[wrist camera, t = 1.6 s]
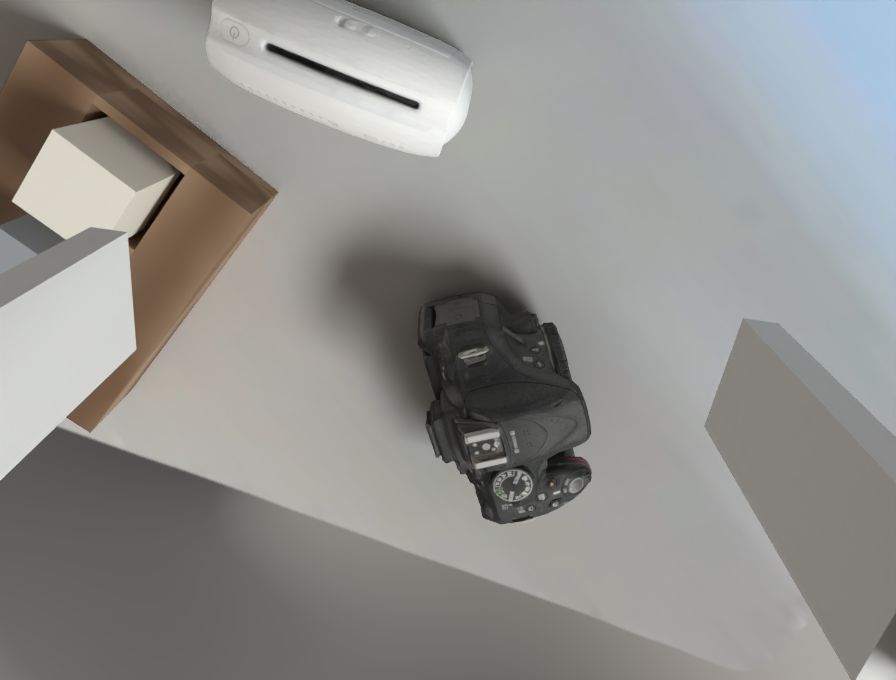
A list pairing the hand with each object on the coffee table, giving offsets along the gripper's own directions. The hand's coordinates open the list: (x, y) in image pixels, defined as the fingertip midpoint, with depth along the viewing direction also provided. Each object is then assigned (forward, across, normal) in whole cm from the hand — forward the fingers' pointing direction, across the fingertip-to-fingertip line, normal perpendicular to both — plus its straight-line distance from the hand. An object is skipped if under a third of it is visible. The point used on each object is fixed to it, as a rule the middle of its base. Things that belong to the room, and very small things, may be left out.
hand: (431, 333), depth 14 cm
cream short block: (+20, -16, -3) cm, 26 cm away
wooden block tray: (+24, -19, -8) cm, 31 cm away
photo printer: (+24, -5, +4) cm, 25 cm away
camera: (+24, +5, -13) cm, 28 cm away
